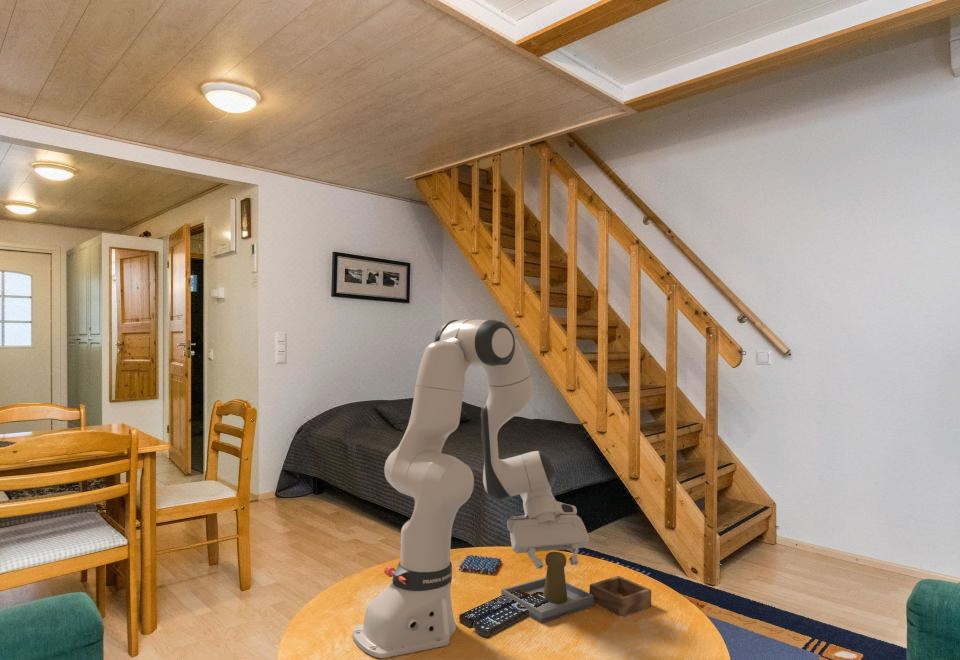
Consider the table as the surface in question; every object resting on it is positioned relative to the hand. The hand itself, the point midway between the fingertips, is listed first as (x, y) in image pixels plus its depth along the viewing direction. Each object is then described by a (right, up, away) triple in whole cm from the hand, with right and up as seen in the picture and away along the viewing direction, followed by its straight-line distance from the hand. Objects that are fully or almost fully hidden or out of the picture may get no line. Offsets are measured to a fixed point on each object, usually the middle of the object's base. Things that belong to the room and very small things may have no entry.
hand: (557, 565), depth 144 cm
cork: (-1, -8, 0) cm, 8 cm away
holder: (+15, -9, 0) cm, 18 cm away
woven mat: (-19, -10, +23) cm, 31 cm away
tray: (-3, -9, 0) cm, 9 cm away
